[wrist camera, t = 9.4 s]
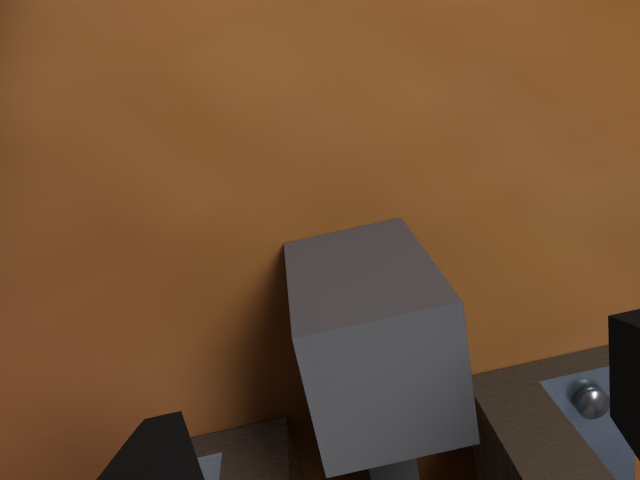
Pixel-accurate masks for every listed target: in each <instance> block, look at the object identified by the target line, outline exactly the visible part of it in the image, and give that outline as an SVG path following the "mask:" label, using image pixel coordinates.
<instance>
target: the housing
mask: <svg viewBox="0 0 640 480" xmlns="http://www.w3.org/2000/svg"><path fill="white" fill-rule="evenodd" d="M472 383H473V391H474V399H475V407H476V416H477V424H478V432H479V441H480V444H477V445H472V446H473V454H474V462H475V470H476V478H477V480H635V453H634V452H633V450H632V449H631V448H630V446H629V445H628V443H627V442H626V440H625V439H624V437H623V435H622V434H621V432H620V431H619V429H618V428H617V426H616V425H615V423H614V422H613V420H612V419H611V417H610V391H609V345H607V346H603V347H598V348H594V349H589V350H585V351H580V352H576V353H571V354H567V355H562V356H558V357H553V358H549V359H544V360H540V361H535V362H531V363H526V364H522V365H517V366H513V367H508V368H504V369H499V370H495V371H490V372H486V373H481V374H477V375H472ZM191 441H192V444H193V447H194V450H195V453H196V456H197V459H198V462H199V465H200V467H201V470H202V473H203V476H204V479H205V480H303V479H302V475H301V471H300V467H299V464H298V460H297V456H296V452H295V449H294V445H293V441H292V437H291V433H290V430H289V426H288V422H287V418H286V417H283V418H279V419H274V420H270V421H265V422H260V423H256V424H251V425H247V426H242V427H238V428H233V429H229V430H224V431H220V432H215V433H211V434H206V435H202V436H197V437H193V438H191Z"/></svg>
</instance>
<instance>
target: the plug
mask: <svg viewBox="0 0 640 480" xmlns="http://www.w3.org/2000/svg"><path fill="white" fill-rule="evenodd" d="M284 253H285V264H286V276H287V287H288V299H289V310H290V322H291V333H292V341H293V345H294V349H295V353H296V357H297V361H298V366H299V370H300V374H301V378H302V382H303V386H304V390H305V394H306V398H307V402H308V406H309V410H310V414H311V418H312V422H313V426H314V430H315V435H316V439H317V443H318V447H319V451H320V455H321V459H322V463H323V467H324V471H325V475H326V478H330V477H334V476H339V475H343V474H348V473H352V472H357V471H361V470H365V469H368V473H369V478H370V480H420V476H419V470H418V464H417V458H419V457H423V456H428V455H432V454H437V453H441V452H446V451H450V450H454V449H459V448H463V447H468V446H472V445H477V444H480V441H479V432H478V424H477V416H476V407H475V399H474V391H473V383H472V374H471V366H470V358H469V349H468V341H467V333H466V324H465V316H464V308H463V301H462V300H461V299H460V297H459V296H458V294H457V293H456V292H455V290H454V289H453V288H452V286H451V285H450V284H449V282H448V281H447V280H446V278H445V277H444V275H443V274H442V273H441V271H440V270H439V269H438V267H437V266H436V265H435V263H434V262H433V261H432V259H431V258H430V256H429V255H428V254H427V252H426V251H425V250H424V248H423V247H422V246H421V244H420V243H419V242H418V240H417V239H416V238H415V236H414V235H413V233H412V232H411V231H410V229H409V228H408V227H407V225H406V224H405V223H404V221H403V220H402V219H401V218H397V219H393V220H388V221H384V222H379V223H375V224H370V225H365V226H361V227H356V228H352V229H347V230H342V231H338V232H333V233H329V234H324V235H319V236H315V237H310V238H306V239H301V240H296V241H292V242H287V243H284Z"/></svg>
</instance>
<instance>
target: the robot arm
mask: <svg viewBox="0 0 640 480" xmlns="http://www.w3.org/2000/svg"><path fill="white" fill-rule="evenodd" d="M608 328H609V391H610V417H611V419H612V420H613V422H614V423H615V425H616V426H617V428H618V429H619V431H620V432H621V434H622V435H623V437H624V439H625V440H626V442H627V443H628V445H629V446H630V448H631V449H632V450H633V452H634V453H635V455H636V456H637V458H638V459H639V460H640V309H637V310H633V311H628V312H624V313H619V314H615V315H610V316H608ZM97 480H205V479H204V476H203V473H202V470H201V467H200V465H199V462H198V459H197V456H196V453H195V450H194V447H193V444H192V441H191V438H190V435H189V433H188V430H187V427H186V424H185V421H184V418H183V415H182V412H181V411H179V412H174V413H170V414H165V415H161V416H156V417H152V418H147V419H144V420H143V422H142V423H141V424H140V425H139V426H138V427H137V429H136V430H135V431H134V432H133V434H132V435H131V436H130V437H129V439H128V440H127V441H126V442H125V444H124V445H123V446H122V448H121V449H120V450H119V451H118V453H117V454H116V455H115V457H114V458H113V459H112V460H111V462H110V463H109V464H108V466H107V467H106V468H105V469H104V471H103V472H102V473H101V475H100V476H99V477H98V478H97Z"/></svg>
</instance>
